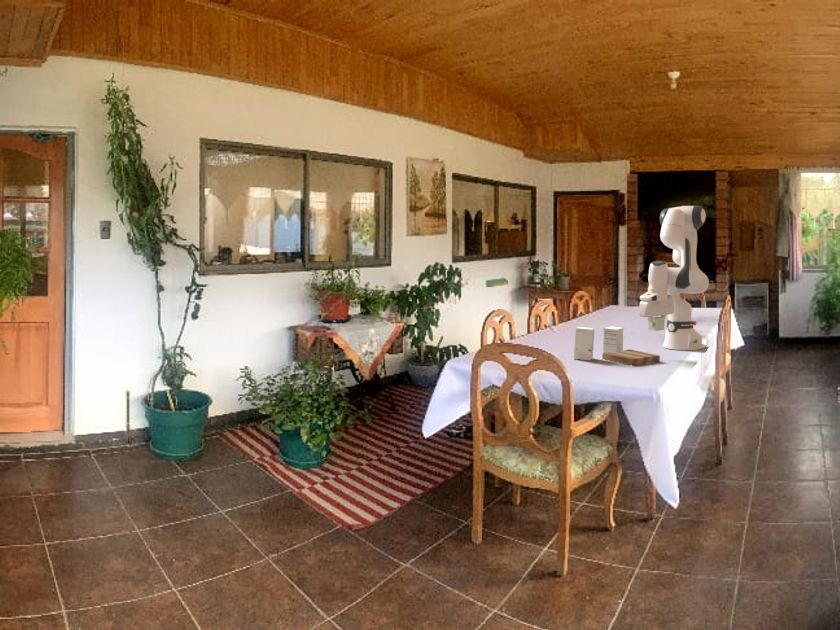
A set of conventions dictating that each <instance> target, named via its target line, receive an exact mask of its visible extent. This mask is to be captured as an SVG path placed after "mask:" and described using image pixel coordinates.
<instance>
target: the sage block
mask: <svg viewBox="0 0 840 630" xmlns="http://www.w3.org/2000/svg"><path fill="white" fill-rule="evenodd" d="M652 320H653V322H654V326H650V325H649V324H648V330H649V331H655V332H658V331H664V330H665V321H666V318H665V317H660V316H653V319H652Z"/></svg>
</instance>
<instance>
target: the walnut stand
mask: <svg viewBox="0 0 840 630" xmlns="http://www.w3.org/2000/svg"><path fill="white" fill-rule="evenodd" d="M603 359H605V360H604V361H608V360H609V362H612V361H614V362H613V363H617V362H618V363H617V364H621V363H622V365H626V364H627V365H626V366H630V365H632V366H631V367H633V365H635V366H639V365H640V364H641V365H647V363H648V364H654V363H653V362H655V363H660V362H661V361H660V360H661V355H659V354H655V353H651V352H646V351H644V352H643V351H639V350H634V349H623V350H622V351H614V352H606V353H603V352H602V360H603Z"/></svg>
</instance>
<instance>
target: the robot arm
mask: <svg viewBox="0 0 840 630" xmlns="http://www.w3.org/2000/svg"><path fill="white" fill-rule="evenodd" d="M706 215H707V214H706V210H705V208H704V206H702V205H681V206H675V207H667V208H663V209H662V210H661V212H660V214H659V223H660V225H661V228H660V234H659V237H660V241H661V242H662V243H663V245H664V246H666V247H667V248H669V249H672V256H671V257H672V261H673V263H675V264H676V265H678V266H679V267H668V262H667V261H664V260H654V261H652V262H650V264H649V268H648V277H647V279H648V287H647V291H646V292H645V293H643V294H642V295H641V294H640V295H639V306H638V315H639V316H640V317H642V318H647V321H648V326H649V325H650V326H654V322H653V320H652V319H653V316H660V317H665V319H666V317H667V320H666V328H667V329H666V330H665V334H664V342H663V343H662V346H663V348H665V349H669V350H678V351H692V350H693V351H698V350H701V349H706V348H708V346H707V345H706V344H704V343H703V339H702V335H701V334H700V333H699V332H698V331H697V330H696V329H695V328H694V326H697V323H698V322H697V320H692V310H693V308H692V304H691V303H690V302H688V301H686V300H685V299H683V298H682V297H681V294H689V295H690V294H691V295H692V294H693V295H695V294H697V295H698V294H702V293H703V294H704V293H705V292H706V291H707V290H708V288H709V286H710V285H709V284H710V281H709V280H710V279H709V278H708V276H707V275H706V274H705V272H703V270H701V269H700V268H699V265H698V263H697V247H698V232H697V231H699V229H700V228H701V227H702V226H703V225H704V224H705V222H706V217H707V216H706Z"/></svg>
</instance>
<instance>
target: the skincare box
mask: <svg viewBox="0 0 840 630" xmlns="http://www.w3.org/2000/svg"><path fill="white" fill-rule="evenodd" d="M595 329H596V328H595V327H584V326H577V327H575V332H574V333H575V335H574V349H573V350H574V351H573V360H577V359H580V360H579V361H592V360H593V359H592V358H593V357H594V345H595V343H594V342H595ZM591 359H592V360H591Z"/></svg>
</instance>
